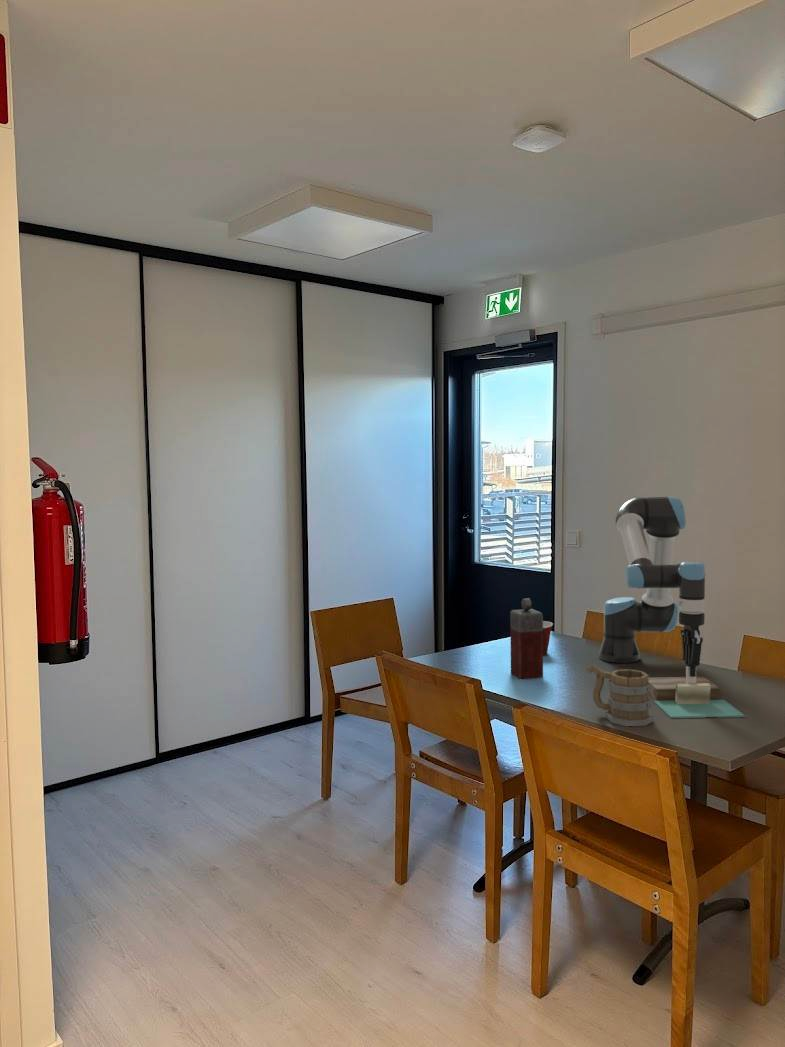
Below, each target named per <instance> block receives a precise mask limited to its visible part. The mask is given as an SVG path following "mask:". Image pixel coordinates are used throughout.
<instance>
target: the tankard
mask: <svg viewBox="0 0 785 1047" xmlns="http://www.w3.org/2000/svg"><path fill="white" fill-rule="evenodd" d="M585 670H586V672H587V673H594V674H596V677H595V678H596V680H595V685H594V688H593V690H592V700H593V702H594V704H595V706H596V708H598V709H601V710H604V711H606V712H605V718H606V719H607V720H608V721H609V722H610V723H611V724H613V725H617V724H618V725H617V726H622V727H626V726H627V728H629V727H628V726H636V727H646V726H647V725H649V724H651V723H653V722H654V716H653V715H652V714H651V713H650V712H649V709H650V708H651V707H652V706H651V705H652V700H651V699H650V698H649V694H648V692H650V691H651V684H650V683H649V678H650V676H649V674H647V673H646V672H644V671H642V670H637V669H616V670H613V671H612V672H609V671H605V670H603V669H601V668H600V667H599V666H597V665H596V664H591V665H590V666H587V667H585ZM605 679H609V680H608V681H607V687H608V690H610V692H609V693H610V694H609V696H608V697H607V702H604V701H602V697H601V692H602V689H603V686H604V681H605Z"/></svg>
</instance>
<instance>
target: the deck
mask: <svg viewBox="0 0 785 1047" xmlns="http://www.w3.org/2000/svg"><path fill="white" fill-rule="evenodd" d="M649 683H650V684H651V691H650V692H648V696H650V697H651V698H652V699H653V701H667V700H675V694H676V684H679V683H686V676H667V677H665V676H663V677H662V676H661V677H656V676H655V677H650V676H649ZM696 683H709V684H710V686H711V688H710V700H721V688H720V687H719V686H718V685H716V684H714V683H713V682H712V681H710V680H709V679H708V678H706V677H705V676H696Z"/></svg>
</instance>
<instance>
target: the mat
mask: <svg viewBox="0 0 785 1047" xmlns="http://www.w3.org/2000/svg"><path fill="white" fill-rule="evenodd" d="M653 702H654V704H655V705H656V706H657V707H658V708H660V710H662V712H664V714H666V715H667V716H668V717H669V719H692V718H693V719H695V718H696V719H700V718H701V719H706V717H718V718H745V717H746V716H745V714H743V713H742V712H741V711H740V710H738V709H737V708H736V707H734V706H733V705H731V704H730V703H729V702H728V701H726V700H725V699H720V700H709V704H677V703H676V702H675V700H667V701H655V700H653Z"/></svg>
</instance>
